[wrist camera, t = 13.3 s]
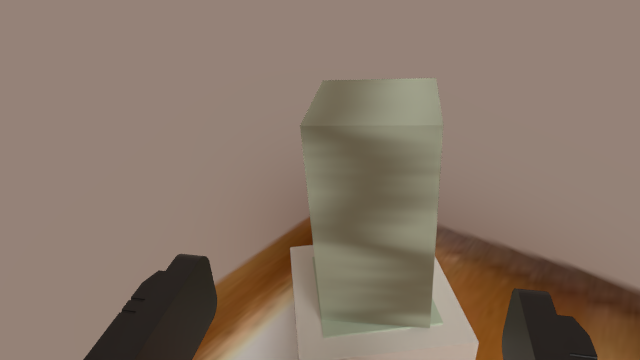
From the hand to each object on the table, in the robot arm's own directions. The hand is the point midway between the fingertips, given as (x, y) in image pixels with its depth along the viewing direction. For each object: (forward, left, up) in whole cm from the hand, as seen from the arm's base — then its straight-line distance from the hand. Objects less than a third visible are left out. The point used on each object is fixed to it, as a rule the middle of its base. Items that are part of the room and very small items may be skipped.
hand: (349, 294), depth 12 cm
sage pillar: (0, -9, -8) cm, 11 cm away
